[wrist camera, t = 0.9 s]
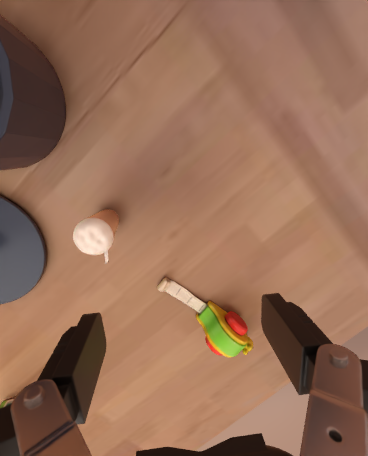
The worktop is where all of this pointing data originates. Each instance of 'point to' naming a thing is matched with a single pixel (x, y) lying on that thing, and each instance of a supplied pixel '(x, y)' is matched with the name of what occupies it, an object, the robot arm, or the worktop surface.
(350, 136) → the worktop surface
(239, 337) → the toy measuring tape
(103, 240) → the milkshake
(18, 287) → the tin lid
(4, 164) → the tin
